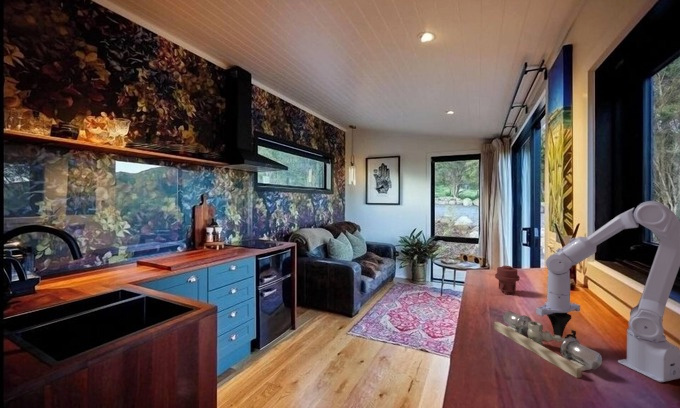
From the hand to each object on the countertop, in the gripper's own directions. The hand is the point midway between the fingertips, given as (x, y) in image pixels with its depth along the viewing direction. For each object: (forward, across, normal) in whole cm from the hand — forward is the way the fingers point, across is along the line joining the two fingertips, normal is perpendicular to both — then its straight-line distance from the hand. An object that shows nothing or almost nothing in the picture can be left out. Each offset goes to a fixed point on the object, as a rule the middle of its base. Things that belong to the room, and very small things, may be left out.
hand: (557, 335), depth 94 cm
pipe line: (+3, +5, 0) cm, 6 cm away
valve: (+3, +4, +1) cm, 5 cm away
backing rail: (+3, +10, +1) cm, 11 cm away
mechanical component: (+3, -22, -45) cm, 50 cm away
